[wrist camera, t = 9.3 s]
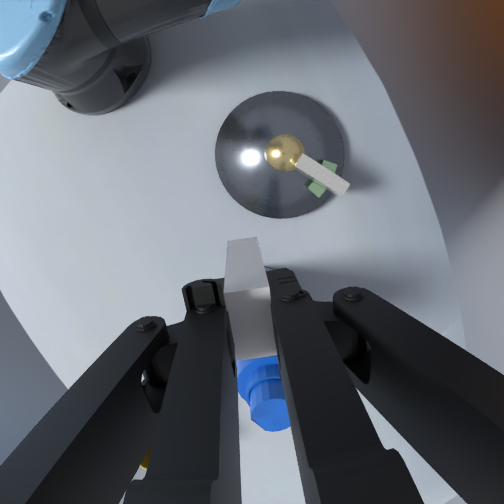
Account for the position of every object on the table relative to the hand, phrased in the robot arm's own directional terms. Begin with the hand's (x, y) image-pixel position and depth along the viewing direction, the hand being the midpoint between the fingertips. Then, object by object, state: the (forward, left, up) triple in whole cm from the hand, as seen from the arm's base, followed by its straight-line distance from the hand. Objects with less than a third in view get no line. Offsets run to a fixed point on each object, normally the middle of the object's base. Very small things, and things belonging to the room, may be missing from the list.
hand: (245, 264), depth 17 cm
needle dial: (-3, +9, -26) cm, 27 cm away
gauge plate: (-5, +7, -27) cm, 29 cm away
